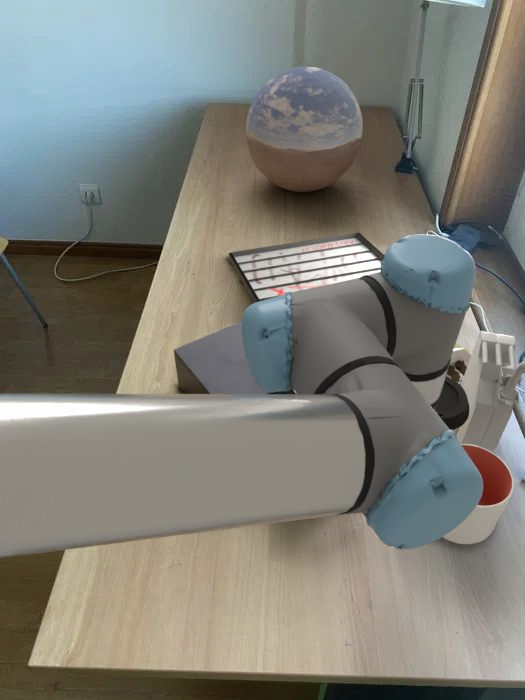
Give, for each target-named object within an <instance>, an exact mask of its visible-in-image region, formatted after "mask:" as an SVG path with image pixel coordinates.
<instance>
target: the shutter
mask: <svg viewBox="0 0 525 700" xmlns="http://www.w3.org/2000/svg"><path fill="white" fill-rule="evenodd" d="M384 256H385V253H383V252H382V251H380V250H379V249H378V248H377V247H376V246H375V245H374V244H373V243H371V242H370V241H369V240H368V238H366V237H365V236H363V234H362V233H360V232H358V231H357V232H353V233H347V234H346V233H345V234H340V235H339V234H338V235H333V236H327V237H320V238H313V239H308V240H300V241H296V242H295V241H294V242H288V243H282V244H277V245H270V246H264V247H263V246H262V247H257V248H256V247H255V248H251V249H243V250H237V251H231V252H228V259H229V262H230V264H231V265H232V267H233V269H234V270H235V272H236V274H237V276H238V278H239V279H240V281H241V282H242V284H243V286H244V288H245V289H246V291H247V293H248V295H249V296H250V299H251V300H252V302H253V303H256V302H260V301H263V300H266V299H269V298H273V297H277V296H280V295H284V294H285V293H286V292H289V291H291V292H295V291H300V290H305V289H310V288H314V287H319V286H324V285H329V284H334V283H338V282H343V281H347V280H352V279H357V278H360V277H362V276H364V275H369V274H373V273H377V272H380V271H381V270H380V269H381V262H382V261H383V260H384Z"/></svg>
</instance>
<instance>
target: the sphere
mask: <svg viewBox="0 0 525 700" xmlns="http://www.w3.org/2000/svg"><path fill="white" fill-rule="evenodd" d="M363 123H364V122H363V114H362V111H361V107H360V105H359V103H358V101H357V97H356V96H355V95H354V93H353V92H352V90H351V89H350V87H349V86H348V84H346V82H344V81H343V79H341V78H340V77H338V76H337V75H335V74H334V73H332V72H331V71H328V70H326V69H323V68H320V67H317V66H306V65H304V66H297V67H293V68H289V69H285V70H283V71H282V72H279V73H277V74H276V75H274V76H273V77H271V78H270V79H269V80H268V81H266V82H265V83H264V84H263V85H262V87H261V88H260V89H259V91H258V92H257V94H256V95H255V97H254V98H253V100H252V102H251V104H250V107H249V109H248V111H247V117H246V121H245V133H246V142H247V147H248V152H249V155H250V157H251V159H252V162H253V164H254V165H255V166H256V168H257V169H258V170H259V172H260V173H261V174H262V175H263V176H264V177H265V178H267V180H268V181H269V182H270V183H272V184H273V185H276V186H278V187H279V188H281V189H284V190H287V191H292V192H296V193H297V192H298V193H307V192H308V193H309V192H313V191H318V190H322V189H324V188H326V187H328V186H331V185H332V184H334V183H335V182H336V181H338V180H340V178H341V177H342V176H343V175H345V173H347V171H348V170H349V169H351V166H352V165H353V163H354V161H355V160H356V158H357V155H358V153H359V150H360V146H361V142H362V136H363V129H364V127H363V126H364V124H363Z"/></svg>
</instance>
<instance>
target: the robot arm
mask: <svg viewBox="0 0 525 700" xmlns="http://www.w3.org/2000/svg"><path fill="white" fill-rule="evenodd" d="M384 255H385V256H384V260H383V261H382V262H381V269H380V270H381V271H380V272H377V273H373V274H369V275H364V276H362V277H360V278H357V279H352V280H347V281H343V282H338V283H334V284H329V285H324V286H319V287H314V288H310V289H305V290H300V291H295V292H291V291H289V292H286V293H285V294H284V295H280V296H277V297H273V298H269V299H266V300H263V301H260V302H256V303H254V302H253V303H252V304H250V305H249V306H248V307H247V308H246V309H245V310H244V312H243V315H242V319H241V321H242V340H243V347H244V351H245V356H246V359H247V363H248V366H249V369H250V371H251V374H252V376H253V378H254V380H255V382H256V383H257V384H258V385H259V386H260V387H261V388H262V389H263V390H264V391H266V392H270V393H272V392H280V391H285V392H286V391H289V390H291V389H294V390H295V392H296V393H297V394H184V393H13V392H12V393H10V392H9V393H8V392H7V393H6V392H5V393H3V392H1V393H0V559H4V558H5V559H6V558H13V557H20V556H28V555H35V554H36V555H37V554H43V553H52V552H59V551H68V550H75V549H83V548H90V547H98V546H105V545H106V546H107V545H115V544H122V543H130V542H138V541H145V540H152V539H153V540H154V539H161V538H169V537H177V536H185V535H192V534H199V533H201V534H202V533H207V532H215V531H223V530H231V529H239V528H245V527H247V528H248V527H254V526H261V525H263V526H264V525H270V524H277V523H278V524H279V523H285V522H295V521H300V520H309V519H316V518H324V517H333V516H340V515H341V516H342V515H352V514H353V515H354V514H362V515H363V516H364V517H365V519H366V524H367V526H368V527H370V528H371V530H373V532H374V534H375V535H376V536H377V537H378V539H379V540H380V541H381V543H382V544H384V545H386V546H388V547H393V548H395V549H398V550H411V549H417V548H420V547H423V546H426V545H429V544H431V543H433V542H435V541H437V540H440V539H441V538H443V536H445V535H446V534H448V533H449V532H451V531H452V530H453V529H455V528H456V527H458V526H459V525H460V524H461V523H462V522H463V521H464V520H465V519H466V518H467V517H468V516H469V515H470V514H471V512H472V511H473V510H474V509H475V508H476V506H477V505H478V503H479V501H480V499H481V496H482V492H483V480H482V476H481V474H480V472H479V470H478V469H477V468H476V466H475V465H474V463H473V462H472V460H471V459H470V457H469V456H468V454H467V453H466V451H465V450H464V449H463V447H462V446H461V444H460V443H459V441H458V440H457V435H456V434H455V433H454V432H453V431H452V430H450V429H449V428H448V427H447V425H446V424H445V423H444V422H443V420H442V419H441V418H440V417H439V414H438V413H437V412H436V411H435V409H436V406H437V403H438V399H439V397H440V394H441V391H442V388H443V385H444V381H445V378H446V374H447V371H448V367H449V364H450V360H451V356H452V353H453V350H454V347H455V344H457V342H458V338H459V335H460V332H461V329H462V327H463V323H464V320H465V317H466V314H467V312H468V310H469V309H470V307H471V300H472V299H471V298H472V293H473V290H474V286H475V285H474V284H475V279H476V274H477V273H476V272H477V269H476V263H475V260H474V258H473V256H472V254H471V253H470V252H468V251H467V250H465V249H464V248H463V247H462V245H460V244H459V243H457V242H455V241H453V240H451V239H448V238H446V237H444V236H440V235H434V234H423V233H418V234H416V233H415V234H410V235H404V236H403V237H400V238H397V240H396V241H395V242H394V243H391V244H390V245H389V246H388V247H387V248H386V251H385V253H384Z"/></svg>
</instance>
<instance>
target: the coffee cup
mask: <svg viewBox="0 0 525 700" xmlns="http://www.w3.org/2000/svg"><path fill="white" fill-rule="evenodd" d="M469 407H470V406H469V402H468V399H467V395H466V393H465V391H464V389H463V388H462V387H461V384H459V383H458V381H457V382H456V381H454V380H453V379H451V378H449V377H447V376H446V378H445V381H444V385H443V388H442V391H441V394H440V397H439V399H438V403H437V406H436V409H435V411H436V412H437V413H438V414H439V417H440V418H441V419H442V420H443V422H444V423H445V424H446V425H447V427H448V428H449V429H450V430H452V431H453V432H454V433H455V434H457V432H458V431H459V428H460V427H461V426H462V425H463V424H464V423H465V422H466V421H467V419H468V416H469Z"/></svg>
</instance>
